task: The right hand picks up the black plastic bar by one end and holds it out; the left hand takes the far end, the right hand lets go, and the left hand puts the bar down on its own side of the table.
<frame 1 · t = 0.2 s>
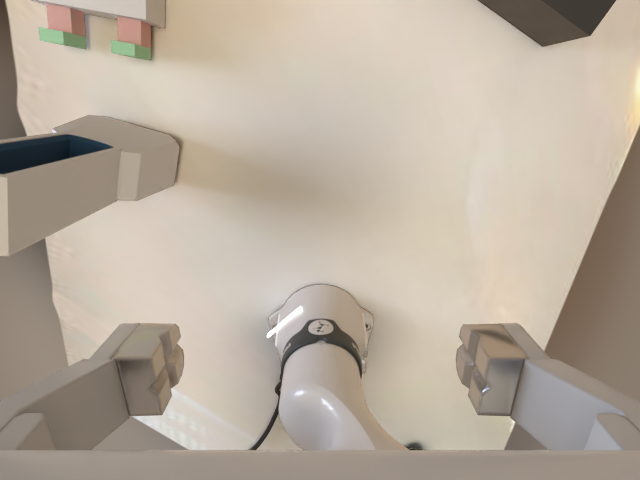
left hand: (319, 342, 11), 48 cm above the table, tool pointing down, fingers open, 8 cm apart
electronic device: (139, 150, 55), on the table
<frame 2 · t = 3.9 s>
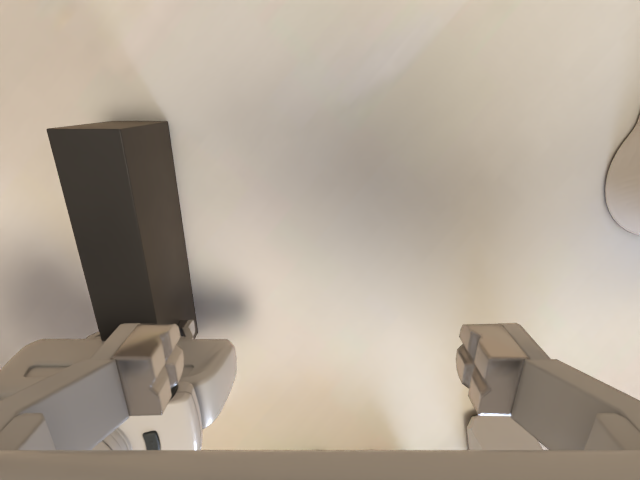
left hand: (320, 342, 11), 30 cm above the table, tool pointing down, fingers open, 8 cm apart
right hand: (157, 324, 41), fingers closed on bar, 6 cm apart
bar: (159, 238, 42), on the table, touching right hand
electronic device: (491, 438, 53), on the table
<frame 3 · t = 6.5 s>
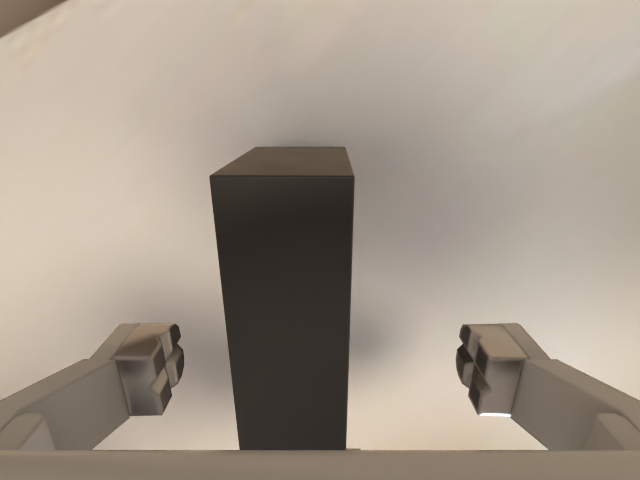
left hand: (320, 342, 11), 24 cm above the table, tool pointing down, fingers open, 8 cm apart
bar: (303, 319, 28), point 9 cm above the table, touching right hand
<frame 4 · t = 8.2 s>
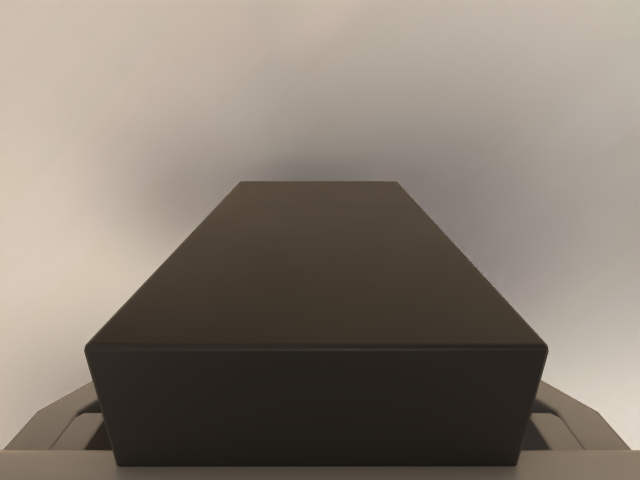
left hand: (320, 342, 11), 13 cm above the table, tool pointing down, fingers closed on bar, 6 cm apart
bar: (318, 439, 18), point 9 cm above the table, touching left hand, right hand
when the right hand's fingers open (13 cm above the table, at t = 9.3 s): bar stays where it is, held by the left hand.
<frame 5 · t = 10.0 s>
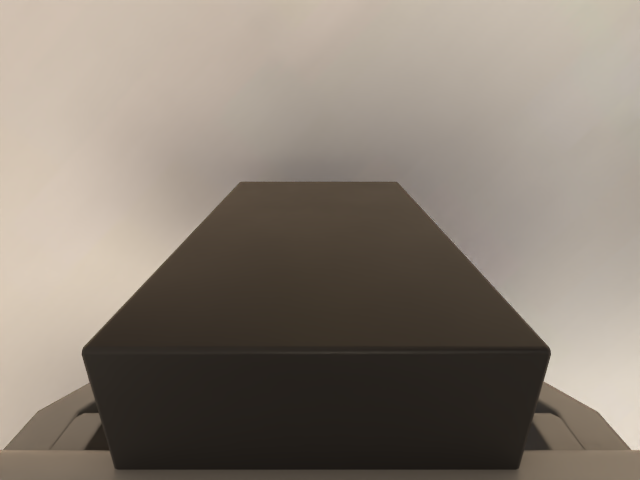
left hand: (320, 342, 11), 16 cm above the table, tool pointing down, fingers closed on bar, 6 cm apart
bar: (318, 440, 18), point 11 cm above the table, touching left hand
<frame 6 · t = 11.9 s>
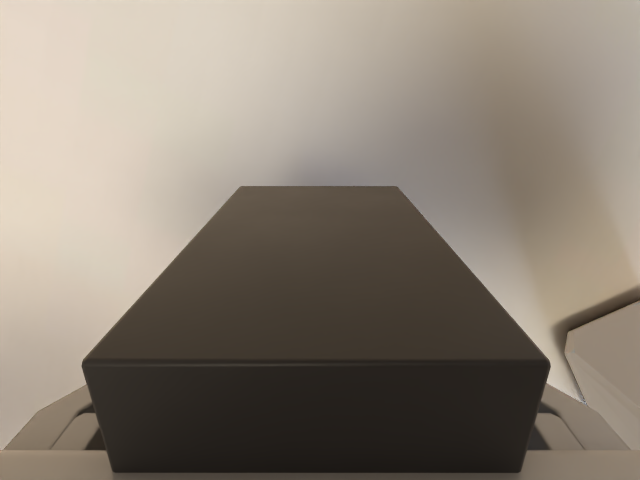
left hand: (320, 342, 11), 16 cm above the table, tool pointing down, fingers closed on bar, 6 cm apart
bar: (319, 443, 18), point 11 cm above the table, touching left hand
electronic device: (615, 361, 30), on the table
when the left hand's fingers open (6 cm above the table, at t = 13.5 s): bar stays where it is, on the table.
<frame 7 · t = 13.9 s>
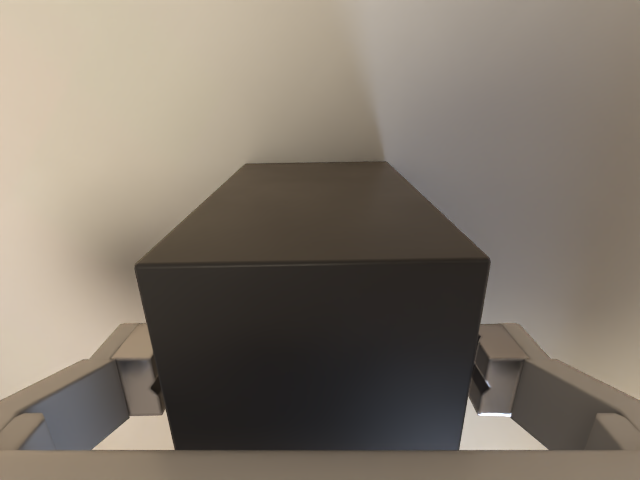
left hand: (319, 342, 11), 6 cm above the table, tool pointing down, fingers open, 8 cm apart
bar: (320, 406, 19), on the table
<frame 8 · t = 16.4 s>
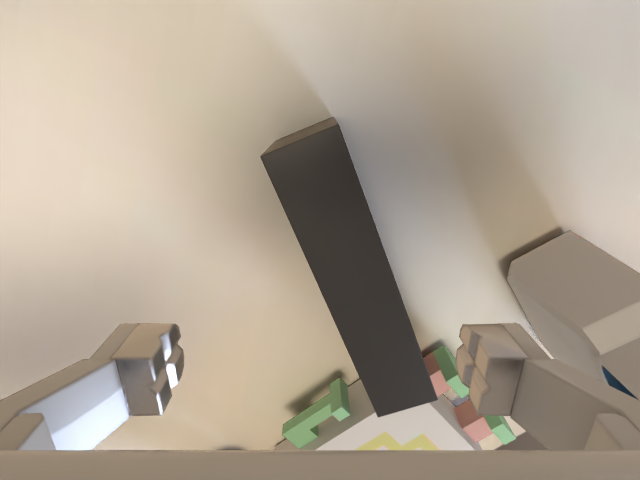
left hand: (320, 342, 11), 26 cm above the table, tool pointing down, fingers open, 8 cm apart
bar: (351, 248, 38), on the table
electronic device: (549, 287, 39), on the table
decorative block: (380, 421, 46), on the table
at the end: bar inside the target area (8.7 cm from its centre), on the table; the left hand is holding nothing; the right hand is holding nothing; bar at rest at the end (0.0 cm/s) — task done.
